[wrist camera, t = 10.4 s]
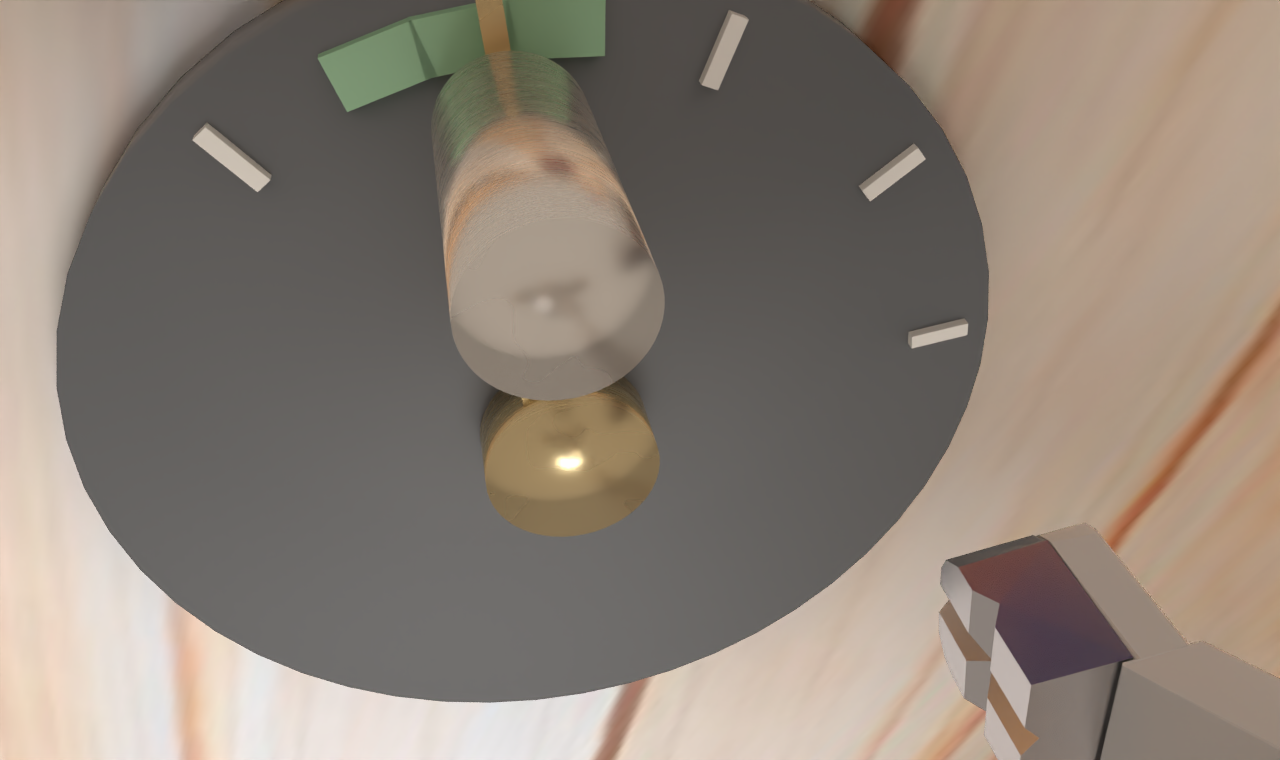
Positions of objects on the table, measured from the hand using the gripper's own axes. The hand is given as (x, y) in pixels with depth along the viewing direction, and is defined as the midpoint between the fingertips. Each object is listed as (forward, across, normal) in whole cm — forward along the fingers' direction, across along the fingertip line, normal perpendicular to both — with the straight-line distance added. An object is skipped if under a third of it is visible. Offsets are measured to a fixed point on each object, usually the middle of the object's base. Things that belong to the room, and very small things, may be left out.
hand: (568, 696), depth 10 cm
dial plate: (+16, 0, +8) cm, 18 cm away
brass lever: (+14, -1, +4) cm, 15 cm away
